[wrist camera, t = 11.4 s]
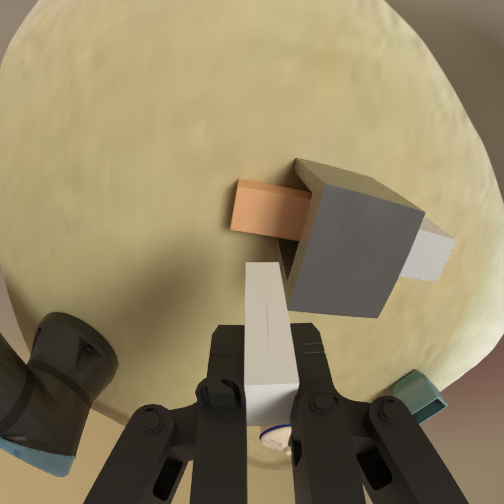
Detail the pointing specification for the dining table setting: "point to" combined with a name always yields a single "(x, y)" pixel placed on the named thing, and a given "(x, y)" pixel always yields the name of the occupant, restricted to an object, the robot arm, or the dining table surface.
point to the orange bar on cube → (294, 214)
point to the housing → (346, 244)
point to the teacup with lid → (276, 437)
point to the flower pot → (419, 396)
